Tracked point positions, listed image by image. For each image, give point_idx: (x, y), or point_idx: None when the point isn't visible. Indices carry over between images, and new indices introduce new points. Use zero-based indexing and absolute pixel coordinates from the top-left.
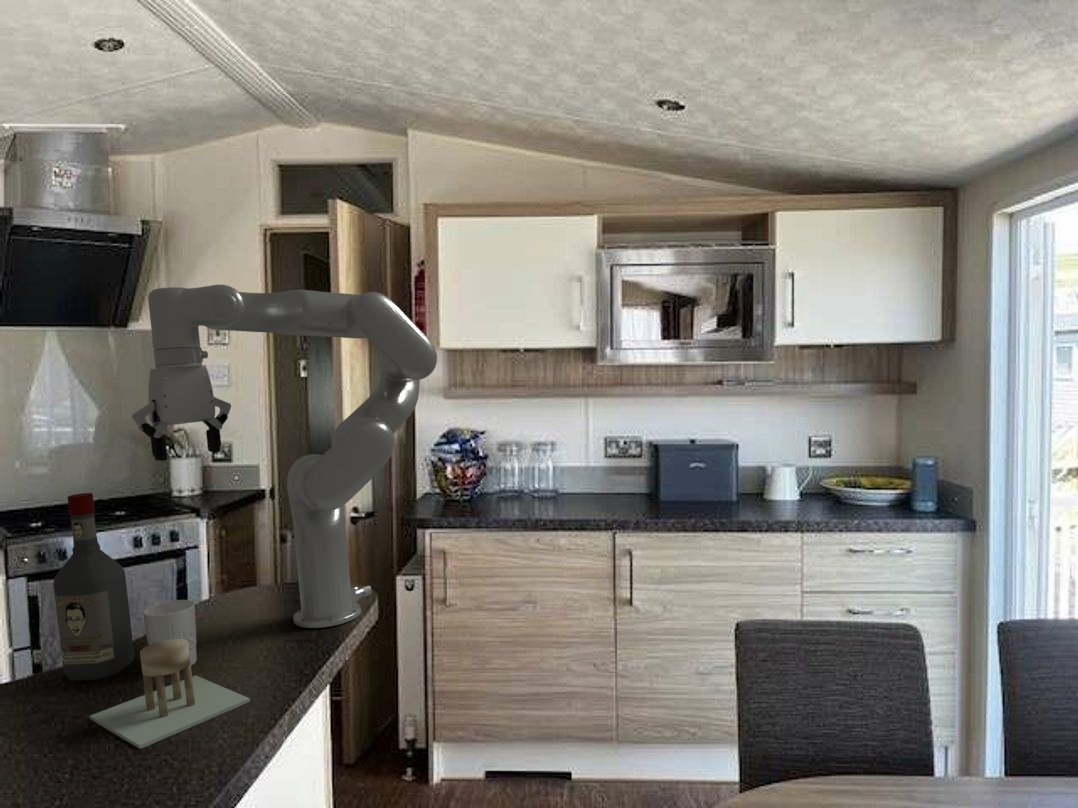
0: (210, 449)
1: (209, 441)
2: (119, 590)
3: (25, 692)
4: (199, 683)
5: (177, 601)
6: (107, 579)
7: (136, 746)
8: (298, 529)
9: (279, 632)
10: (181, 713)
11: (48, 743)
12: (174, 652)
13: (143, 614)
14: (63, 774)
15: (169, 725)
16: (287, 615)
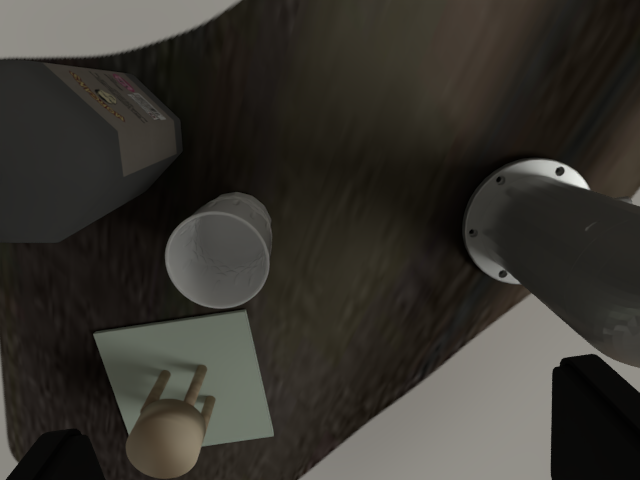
0: (560, 415)
1: (615, 473)
2: (109, 196)
3: None
4: (240, 344)
5: (245, 223)
6: (60, 238)
7: None
8: (590, 317)
9: (426, 221)
10: None
11: (44, 361)
12: (170, 477)
13: (165, 256)
14: None
15: None
16: (488, 138)
